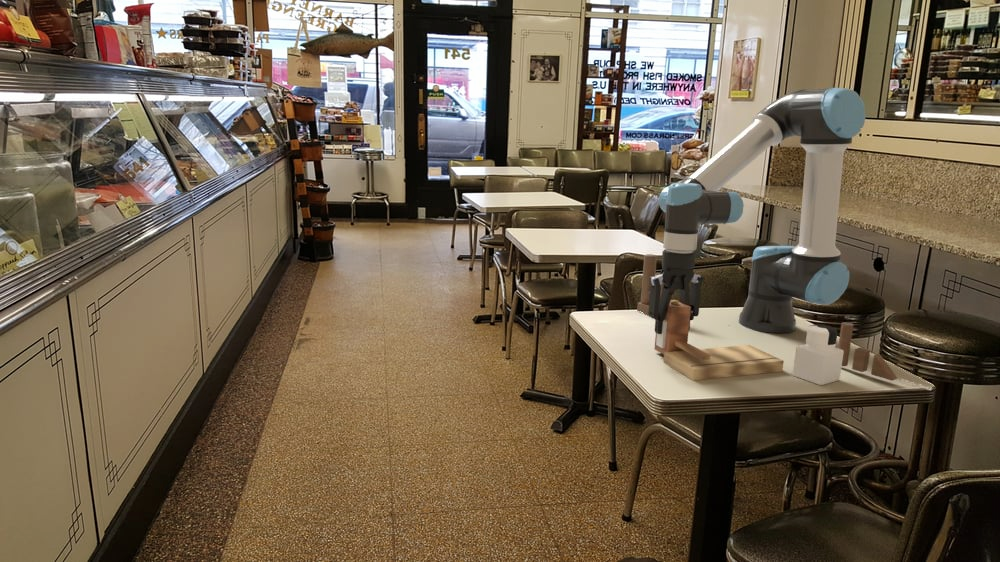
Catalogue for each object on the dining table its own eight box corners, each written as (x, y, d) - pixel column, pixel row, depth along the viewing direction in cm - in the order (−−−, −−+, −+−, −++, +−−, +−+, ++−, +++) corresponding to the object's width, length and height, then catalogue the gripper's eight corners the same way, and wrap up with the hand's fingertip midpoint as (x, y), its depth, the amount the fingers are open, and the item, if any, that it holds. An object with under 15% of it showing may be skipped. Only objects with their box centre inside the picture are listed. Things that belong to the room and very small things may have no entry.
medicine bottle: (810, 370, 158) (817, 320, 155) (840, 380, 152) (847, 328, 149) (791, 375, 154) (798, 324, 152) (821, 386, 148) (828, 333, 146)
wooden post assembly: (662, 323, 193) (668, 260, 189) (636, 314, 202) (641, 254, 198) (672, 321, 195) (677, 260, 191) (645, 312, 204) (650, 253, 200)
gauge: (672, 347, 168) (676, 297, 165) (714, 371, 152) (720, 315, 150) (654, 349, 166) (658, 298, 164) (695, 373, 151) (700, 317, 148)
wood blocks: (816, 360, 166) (821, 319, 164) (821, 358, 168) (827, 317, 165) (928, 392, 147) (936, 346, 145) (933, 390, 148) (941, 344, 146)
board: (748, 354, 168) (749, 344, 167) (782, 371, 157) (783, 360, 156) (663, 362, 160) (664, 351, 160) (693, 380, 149) (694, 369, 149)
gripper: (702, 246, 165) (693, 338, 170) (636, 248, 160) (629, 343, 165) (721, 251, 158) (712, 347, 164) (653, 254, 153) (645, 353, 158)
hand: (670, 345), depth 164 cm, fingers closed on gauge, 5 cm apart
